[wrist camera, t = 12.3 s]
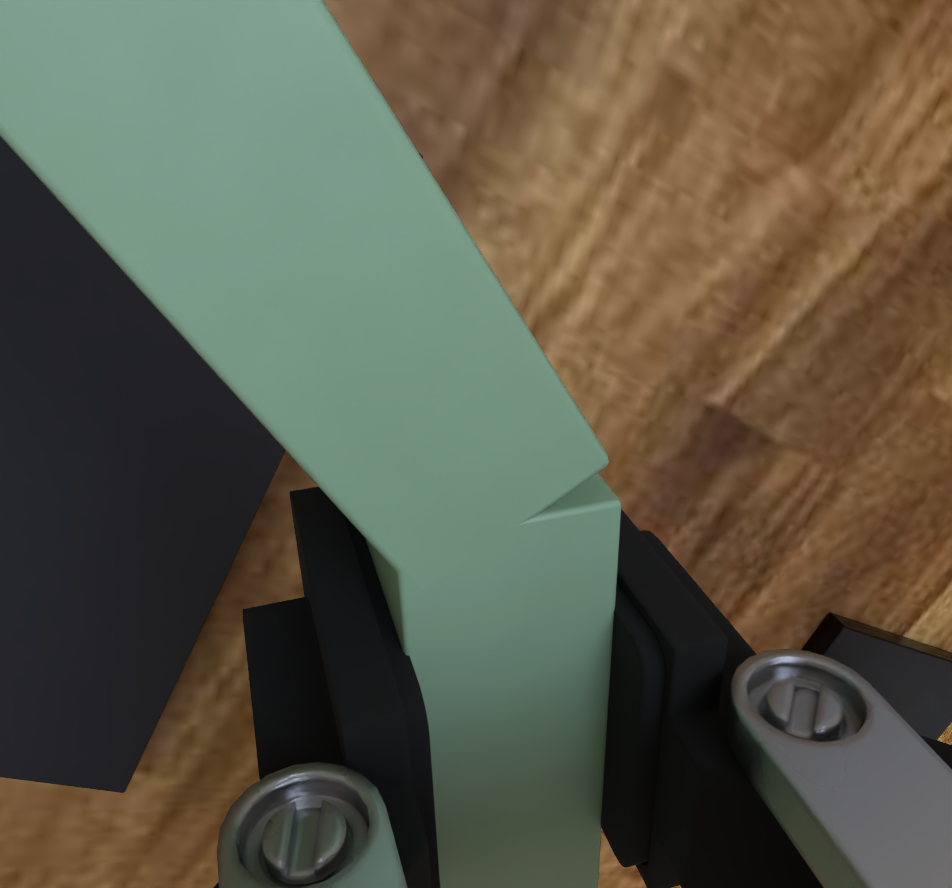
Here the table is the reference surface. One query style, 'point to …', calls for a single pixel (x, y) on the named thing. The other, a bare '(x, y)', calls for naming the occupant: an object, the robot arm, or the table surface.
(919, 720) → the post
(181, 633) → the mat
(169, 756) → the table surface
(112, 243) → the hoop
